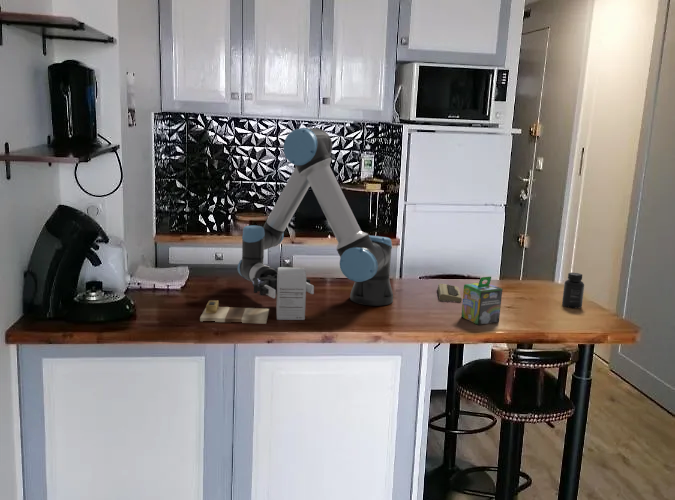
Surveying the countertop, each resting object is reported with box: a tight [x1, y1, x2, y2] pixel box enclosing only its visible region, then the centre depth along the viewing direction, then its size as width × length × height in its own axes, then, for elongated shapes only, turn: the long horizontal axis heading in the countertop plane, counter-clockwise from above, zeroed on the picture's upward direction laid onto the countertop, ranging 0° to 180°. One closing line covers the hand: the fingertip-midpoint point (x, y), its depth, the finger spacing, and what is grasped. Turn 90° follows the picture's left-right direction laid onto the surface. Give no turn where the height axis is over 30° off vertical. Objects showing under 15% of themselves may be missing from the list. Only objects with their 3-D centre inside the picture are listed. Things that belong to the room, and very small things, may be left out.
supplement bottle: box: [561, 272, 585, 309], centre depth 235 cm, size 7×7×12 cm
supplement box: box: [275, 266, 307, 321], centre depth 206 cm, size 9×9×15 cm
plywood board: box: [199, 299, 270, 325], centre depth 204 cm, size 20×12×4 cm, turn 92°
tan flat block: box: [437, 283, 463, 303], centre depth 241 cm, size 16×8×3 cm, turn 174°
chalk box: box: [461, 276, 503, 326], centre depth 212 cm, size 9×9×15 cm
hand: (294, 292), depth 204 cm, fingers open, 13 cm apart
